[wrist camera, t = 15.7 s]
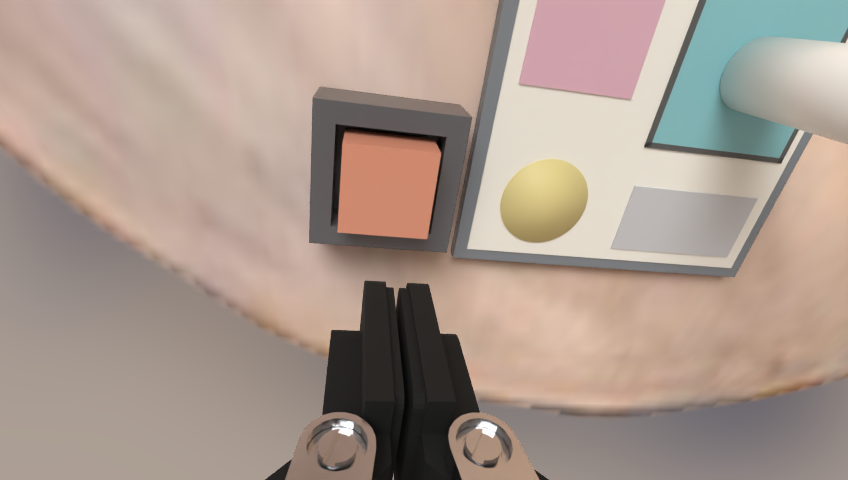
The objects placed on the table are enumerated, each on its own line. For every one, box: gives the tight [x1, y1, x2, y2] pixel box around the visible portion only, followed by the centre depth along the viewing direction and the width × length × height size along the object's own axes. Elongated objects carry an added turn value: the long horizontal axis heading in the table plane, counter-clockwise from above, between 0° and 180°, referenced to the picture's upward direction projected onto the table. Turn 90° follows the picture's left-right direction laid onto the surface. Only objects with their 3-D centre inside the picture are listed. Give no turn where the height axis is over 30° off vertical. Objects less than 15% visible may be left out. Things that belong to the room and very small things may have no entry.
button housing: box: [309, 87, 472, 253], centre depth 22 cm, size 7×7×3 cm
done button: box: [337, 129, 441, 239], centre depth 20 cm, size 4×4×2 cm
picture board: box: [451, 0, 848, 277], centre depth 23 cm, size 19×18×1 cm
